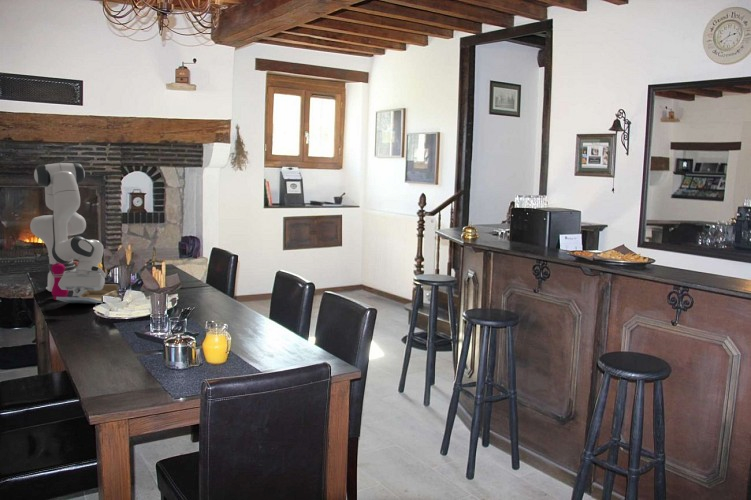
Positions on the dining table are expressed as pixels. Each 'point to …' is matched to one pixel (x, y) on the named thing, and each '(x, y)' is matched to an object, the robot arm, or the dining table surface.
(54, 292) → the pepper mill
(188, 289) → the dining table surface
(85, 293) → the tray
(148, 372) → the dining table surface
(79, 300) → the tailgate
